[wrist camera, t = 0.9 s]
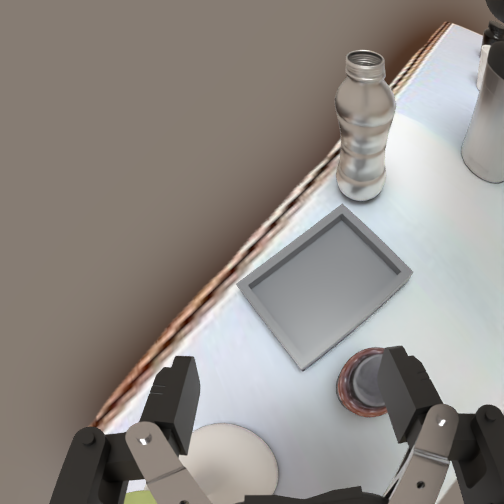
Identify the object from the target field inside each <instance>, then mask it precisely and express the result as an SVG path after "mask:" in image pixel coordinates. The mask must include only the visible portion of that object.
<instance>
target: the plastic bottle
mask: <svg viewBox="0 0 504 504" xmlns="http://www.w3.org/2000/svg"><path fill="white" fill-rule="evenodd" d="M384 63H385V62H384V58H383V57H382V56H381V55H380V54H378V53H376V52H373V51H368V50H357V51H352V52H350V53H348V54H347V55H346V75H347V76H348V77H347V78H346V79H345V80H344V81H343V83H342V84H341V85H340V87H339V88H338V90H337V93H336V96H335V107H336V112H337V116H338V121H339V126H340V134H341V153H340V160H339V163H338V167H337V173H336V178H337V182H338V186H339V188H340V190H341V191H342V193H343V194H344V195H346V196H347V197H349V198H351V199H353V200H357V201H366V200H369V199H372V198H374V197H376V196H377V195H378V194H379V193H380V191H381V190H382V188H383V186H384V183H385V179H386V170H385V148H386V142H387V138H388V133H389V130H390V127H391V123H392V120H393V117H394V114H395V109H396V101H395V97H394V94H393V92H392V90H391V89H390V87H389V86H388V84H387V83H386V82H385V81H384V80H383V79H384V77H385V69H384Z"/></svg>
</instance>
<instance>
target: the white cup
mask: <svg viewBox="0 0 504 504" xmlns="http://www.w3.org/2000/svg"><path fill="white" fill-rule="evenodd" d="M489 49H490V45H483V46H482V49H481V56H480V63H479V69H478V79H477V85H476V86H477V88H478V90H479V91H480V88H481V84H482V80H483V76H484V71H485V67H486V63H487V58H488V53H489Z"/></svg>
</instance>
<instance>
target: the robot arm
mask: <svg viewBox="0 0 504 504" xmlns="http://www.w3.org/2000/svg"><path fill="white" fill-rule="evenodd" d="M486 3H487V6H488V7H489V9H490V11H491V12H492V14H493V15H494V16H495V17H496V18H497V19H498V20H500V21H501V22H503V23H504V0H486ZM461 153H462V157H463V160H464V162H465V163H466V165H467V166H468V167H469V169H470V170H471V171H472V172H473V173H474V174H476V175H477V176H478V177H480V178H482V179H484V180H486V181H489V182H493V183H500V182H503V181H504V41H498V42H494V43H493V44H492V45H491V46H490V49H489V53H488V58H487V63H486V67H485V71H484V76H483V80H482V84H481V88H480V92H479V95H478V99H477V102H476V106H475V109H474V112H473V116H472V119H471V122H470V125H469V128H468V131H467V134H466V137H465V140H464V142H463V145H462V149H461ZM377 381H378V386H379V389H380V392H381V395H382V397H383V400H384V403H385V406H386V409H387V412H388V414H389V417H390V420H391V423H392V426H393V429H394V432H395V435H396V438H397V441H398V444H399V443H403V442H408V445H409V447H408V449H407V451H406V453H405V455H404V457H403V459H402V461H401V464H400V466H399V468H398V470H397V472H396V474H395V476H394V477H393V479H392V481H391V483H390V485H389V486H388V488H387V490H386V491H385V493H384V494H383V496H380V495H376V494H373V493H366V492H362V489H361V486H357V487H351V488H345V489H338V490H332V491H329V492H327V493H324V494H321V495H318V496H314V497H311V498H308V499H296V498H290V497H283V496H277V495H245V496H244V501H243V502H238V503H235V504H435V502H436V499H437V497H438V494H439V492H440V489H441V487H442V484H443V481H444V479H445V476H446V473H447V470H448V467H449V464H450V461H452V464H453V467H454V470H455V473H456V477H457V480H458V483H459V486H460V490H461V494H462V497H463V501H464V504H504V416H503V414H502V412H501V411H500V409H499V408H497V407H496V406H493V405H483V406H481V407H480V408H479V409H478V410H477V412H476V414H459V413H457V411H456V410H455V409H454V408H453V407H451V406H449V405H446V404H443V402H442V400H441V399H440V397H439V395H438V393H437V391H436V389H435V387H434V385H433V383H432V381H431V379H429V376H428V374H427V373H426V370H425V368H424V366H423V365H422V363H421V362H420V361H419V360H418V359H417V358H415V357H414V356H408V355H407V353H406V351H405V349H404V348H403V346H395V347H388V348H385V349H384V351H383V355H382V359H381V363H380V367H379V370H378V375H377ZM199 396H200V381H199V376H198V372H197V367H196V363H195V359H194V357H193V356H176V357H175V358H174V361H173V364H172V367H171V368H169V367H164V368H163V369H162V370H161V371H160V372H159V373H158V374H157V375H156V377H155V380H154V383H153V386H152V388H151V391H150V394H149V396H148V399H147V402H146V405H145V407H144V410H143V413H142V416H141V418H140V421H139V423H136V424H134V425H132V426H131V427H130V428H129V429H128V430H127V432H124V433H117V434H107V435H104V433H103V432H102V431H101V430H100V429H98V428H96V427H86V428H83V429H81V430H80V431H78V432H77V433H76V434H75V436H74V438H73V441H72V443H71V446H70V448H69V451H68V453H67V456H66V458H65V461H64V464H63V466H62V469H61V472H60V474H59V477H58V480H57V483H56V486H55V488H54V491H53V494H52V497H51V500H50V503H49V504H124V500H125V495H126V491H127V486H128V482H129V480H140V479H145V480H146V484H147V486H148V488H149V490H150V492H151V494H152V496H153V497H154V499H155V501H156V502H157V504H212V503H211V501H210V500H209V499H208V497H207V496H206V495H205V493H204V492H203V491H202V489H201V488H200V487H199V485H198V484H197V482H196V481H195V480H194V478H193V477H192V475H191V474H190V473H189V471H188V470H187V469H186V467H184V466H183V464H182V463H181V461H180V460H179V455H185V456H187V455H188V450H189V445H190V440H191V435H192V430H193V425H194V420H195V415H196V410H197V406H198V401H199Z"/></svg>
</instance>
